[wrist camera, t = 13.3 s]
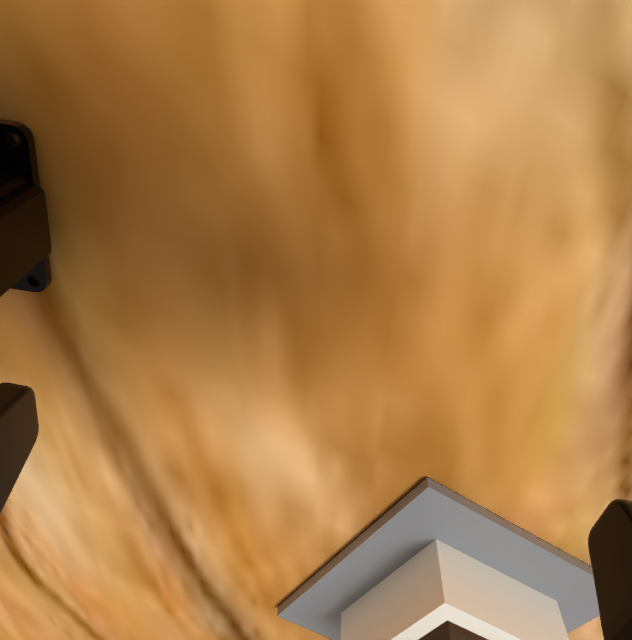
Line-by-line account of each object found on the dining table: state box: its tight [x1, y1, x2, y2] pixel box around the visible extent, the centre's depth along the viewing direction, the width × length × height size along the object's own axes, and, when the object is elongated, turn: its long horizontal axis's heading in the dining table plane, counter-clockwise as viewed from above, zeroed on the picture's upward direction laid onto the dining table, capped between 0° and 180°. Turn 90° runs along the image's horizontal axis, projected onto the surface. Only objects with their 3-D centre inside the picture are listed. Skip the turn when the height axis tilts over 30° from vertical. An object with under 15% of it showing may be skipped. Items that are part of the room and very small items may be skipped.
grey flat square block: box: [277, 477, 600, 640], centre depth 30 cm, size 14×14×4 cm
